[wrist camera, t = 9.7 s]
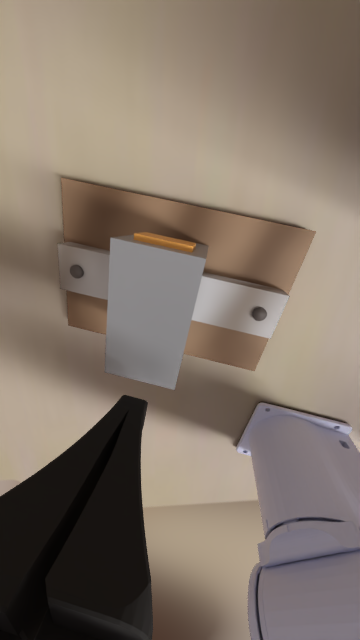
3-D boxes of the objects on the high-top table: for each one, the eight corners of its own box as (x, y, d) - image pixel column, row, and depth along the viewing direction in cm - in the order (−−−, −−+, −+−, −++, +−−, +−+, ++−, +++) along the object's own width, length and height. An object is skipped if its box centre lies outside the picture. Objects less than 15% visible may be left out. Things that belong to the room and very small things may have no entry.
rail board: (309, 231, 15) (328, 232, 12) (252, 364, 20) (258, 383, 18) (69, 180, 16) (43, 172, 13) (74, 321, 21) (56, 333, 18)
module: (209, 241, 15) (207, 252, 9) (186, 338, 19) (174, 390, 13) (149, 228, 15) (110, 230, 9) (138, 326, 19) (104, 372, 13)
